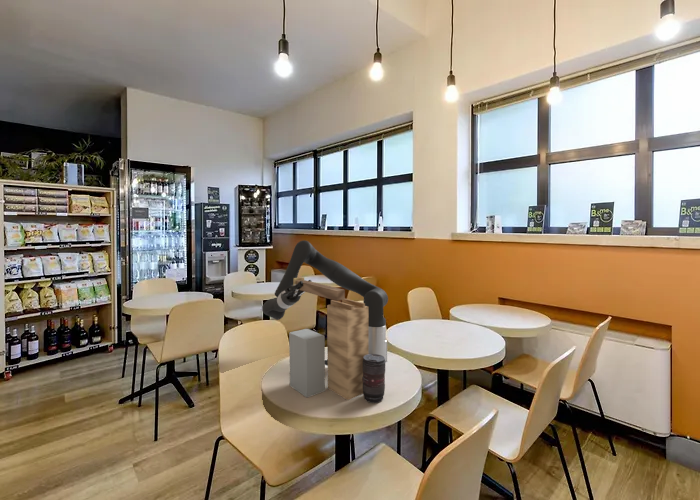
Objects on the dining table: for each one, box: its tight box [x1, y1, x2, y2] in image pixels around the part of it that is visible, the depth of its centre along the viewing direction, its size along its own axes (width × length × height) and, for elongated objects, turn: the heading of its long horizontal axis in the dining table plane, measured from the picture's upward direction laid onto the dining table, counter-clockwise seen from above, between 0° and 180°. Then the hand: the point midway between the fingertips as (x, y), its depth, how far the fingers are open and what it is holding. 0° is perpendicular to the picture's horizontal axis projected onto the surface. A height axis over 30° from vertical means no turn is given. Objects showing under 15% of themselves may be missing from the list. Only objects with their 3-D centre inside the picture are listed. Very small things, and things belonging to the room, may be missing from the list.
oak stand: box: [326, 298, 369, 401], centre depth 128 cm, size 10×12×34 cm
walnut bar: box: [293, 276, 346, 302], centre depth 132 cm, size 4×30×4 cm, turn 39°
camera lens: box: [362, 354, 386, 404], centre depth 122 cm, size 8×8×15 cm
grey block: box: [288, 328, 326, 398], centre depth 130 cm, size 8×12×21 cm, turn 40°
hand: (306, 282), depth 138 cm, fingers closed on walnut bar, 3 cm apart
